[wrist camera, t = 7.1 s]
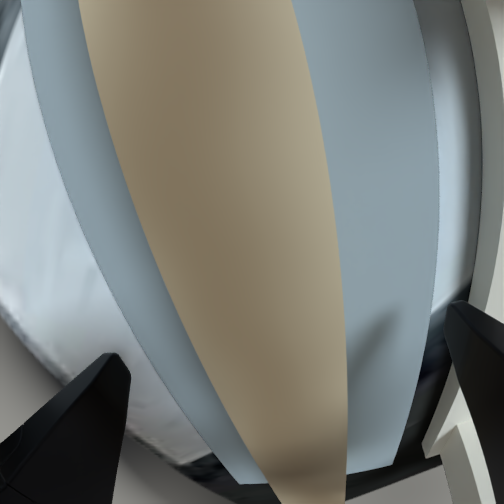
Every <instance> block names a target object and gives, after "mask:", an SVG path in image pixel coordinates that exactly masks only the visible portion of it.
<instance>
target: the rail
mask: <svg viewBox="0 0 504 504" xmlns="http://www.w3.org/2000/svg"><path fill="white" fill-rule="evenodd" d="M78 2H79V8H80V13H81V18H82V23H83V28H84V33H85V38H86V43H87V47H88V52H89V56H90V60H91V64H92V69H93V73H94V77H95V81H96V84H97V88H98V92H99V96H100V100H101V103H102V107H103V110H104V114H105V117H106V121H107V124H108V128H109V131H110V134H111V138H112V141H113V144H114V147H115V150H116V153H117V157H118V160H119V163H120V166H121V169H122V172H123V175H124V178H125V181H126V184H127V186H128V189H129V192H130V195H131V198H132V201H133V203H134V206H135V209H136V212H137V214H138V217H139V220H140V222H141V225H142V228H143V230H144V233H145V236H146V238H147V241H148V243H149V246H150V248H151V251H152V253H153V256H154V258H155V261H156V263H157V266H158V268H159V270H160V273H161V275H162V278H163V280H164V282H165V285H166V287H167V289H168V292H169V294H170V296H171V299H172V301H173V303H174V305H175V308H176V310H177V312H178V314H179V316H180V319H181V321H182V323H183V325H184V327H185V329H186V332H187V334H188V336H189V338H190V340H191V342H192V344H193V346H194V348H195V351H196V353H197V355H198V357H199V359H200V361H201V363H202V365H203V367H204V369H205V371H206V373H207V375H208V377H209V379H210V381H211V383H212V385H213V386H214V388H215V390H216V392H217V394H218V396H219V398H220V400H221V402H222V404H223V405H224V407H225V409H226V411H227V413H228V415H229V416H230V418H231V420H232V422H233V424H234V425H235V427H236V429H237V431H238V433H239V434H240V436H241V438H242V440H243V441H244V443H245V445H246V446H247V448H248V450H249V452H250V453H251V455H252V457H253V458H254V460H255V462H256V463H257V465H258V467H259V468H260V470H261V471H262V473H263V475H264V476H265V478H266V480H267V481H268V483H269V484H270V486H271V487H272V489H273V491H274V492H275V494H276V495H277V497H278V498H279V500H280V501H281V503H282V504H345V489H346V469H347V432H348V396H347V357H346V335H345V318H344V304H343V291H342V279H341V268H340V258H339V248H338V239H337V231H336V222H335V214H334V207H333V199H332V192H331V185H330V179H329V172H328V166H327V159H326V153H325V148H324V142H323V136H322V131H321V125H320V120H319V115H318V110H317V105H316V100H315V95H314V90H313V85H312V81H311V76H310V72H309V67H308V63H307V59H306V55H305V50H304V46H303V42H302V38H301V34H300V30H299V27H298V23H297V19H296V15H295V12H294V8H293V5H292V1H291V0H78Z"/></svg>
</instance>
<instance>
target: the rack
mask: <svg viewBox="0 0 504 504" xmlns="http://www.w3.org/2000/svg"><path fill="white" fill-rule="evenodd" d="M461 4H462V7H463V11H464V15H465V19H466V23H467V27H468V32H469V36H470V41H471V46H472V51H473V57H474V63H475V69H476V76H477V83H478V91H479V100H480V111H481V126H482V152H483V174H482V201H481V216H480V227H479V237H478V245H477V253H476V260H475V267H474V273H473V279H472V284H471V290H470V295H469V300H468V303H469V304H471V305H473V306H474V307H476V308H478V309H479V310H481V311H483V312H485V313H486V314H488V315H490V316H491V317H493V318H495V319H497V320H498V321H500V322H502V323H503V324H504V0H461ZM422 447H423V450H424V454H425V458H429V457H432V456H435V455H438V454H440V456H441V459H442V463H443V466H444V470H445V474H446V478H447V481H448V485H449V489H450V493H451V497H452V501H453V504H496V502H495V497H494V493H493V489H492V485H491V481H490V477H489V473H488V469H487V465H486V462H485V458H484V455H483V452H482V448H481V445H480V442H479V439H478V436H477V432H476V429H475V426H474V424H473V421H472V418H471V415H470V412H469V409H468V407H467V404H466V401H465V398H464V396H463V393H462V391H461V388H460V385H459V382H458V379H457V376H456V372H455V368H454V365H453V362H452V365H451V369H450V372H449V375H448V378H447V381H446V384H445V387H444V389H443V392H442V395H441V398H440V400H439V403H438V406H437V408H436V411H435V413H434V416H433V418H432V421H431V423H430V425H429V428H428V430H427V432H426V435H425V437H424V439H423V441H422Z"/></svg>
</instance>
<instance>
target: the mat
mask: <svg viewBox="0 0 504 504" xmlns="http://www.w3.org/2000/svg"><path fill="white" fill-rule="evenodd" d="M291 1H292V5H293V8H294V12H295V15H296V19H297V23H298V27H299V30H300V34H301V38H302V42H303V46H304V50H305V55H306V59H307V63H308V67H309V72H310V76H311V81H312V85H313V90H314V95H315V100H316V105H317V110H318V115H319V120H320V125H321V131H322V136H323V142H324V148H325V153H326V159H327V166H328V172H329V179H330V185H331V192H332V199H333V207H334V214H335V222H336V231H337V239H338V248H339V258H340V268H341V279H342V291H343V304H344V318H345V335H346V357H347V396H348V432H347V469H346V474H351V473H356V472H361V471H366V470H371V469H376V468H380V467H384V466H389V465H392V463H393V461H394V458H395V455H396V452H397V449H398V446H399V443H400V440H401V437H402V434H403V431H404V428H405V425H406V422H407V418H408V415H409V411H410V408H411V404H412V400H413V397H414V393H415V389H416V385H417V381H418V377H419V372H420V368H421V363H422V359H423V354H424V349H425V343H426V338H427V332H428V327H429V320H430V314H431V307H432V300H433V292H434V283H435V274H436V263H437V250H438V233H439V158H438V141H437V129H436V118H435V109H434V100H433V93H432V86H431V79H430V73H429V67H428V62H427V56H426V51H425V46H424V42H423V37H422V33H421V28H420V24H419V20H418V16H417V13H416V9H415V5H414V2H413V0H291ZM21 5H22V14H23V22H24V29H25V36H26V42H27V48H28V54H29V59H30V64H31V69H32V74H33V79H34V83H35V87H36V92H37V96H38V100H39V104H40V108H41V112H42V115H43V119H44V122H45V126H46V129H47V133H48V136H49V140H50V143H51V146H52V149H53V152H54V155H55V158H56V161H57V164H58V167H59V170H60V173H61V176H62V179H63V182H64V184H65V187H66V190H67V192H68V195H69V198H70V200H71V203H72V205H73V208H74V210H75V213H76V215H77V218H78V220H79V223H80V225H81V228H82V230H83V232H84V235H85V237H86V239H87V241H88V244H89V246H90V248H91V250H92V253H93V255H94V257H95V259H96V261H97V263H98V266H99V268H100V270H101V272H102V274H103V276H104V278H105V280H106V282H107V284H108V286H109V288H110V290H111V292H112V294H113V296H114V298H115V300H116V302H117V304H118V306H119V307H120V309H121V311H122V313H123V315H124V317H125V319H126V320H127V322H128V324H129V326H130V328H131V329H132V331H133V333H134V335H135V336H136V338H137V340H138V342H139V343H140V345H141V347H142V348H143V350H144V352H145V353H146V355H147V357H148V358H149V360H150V362H151V363H152V365H153V367H154V368H155V370H156V371H157V373H158V375H159V376H160V378H161V379H162V381H163V382H164V384H165V385H166V387H167V389H168V390H169V392H170V393H171V395H172V396H173V398H174V399H175V401H176V402H177V403H178V405H179V406H180V408H181V409H182V411H183V412H184V414H185V415H186V416H187V418H188V419H189V421H190V422H191V423H192V425H193V426H194V427H195V429H196V430H197V432H198V433H199V434H200V436H201V437H202V438H203V440H204V441H205V442H206V444H207V445H208V446H209V447H210V449H211V450H212V451H213V453H214V454H215V455H216V456H217V458H218V459H219V460H220V461H221V463H222V464H223V465H224V466H225V468H226V469H227V470H228V471H229V472H230V474H231V475H232V476H233V477H234V478H235V480H236V481H237V482H238V483H239V484H258V483H268V481H267V480H266V478H265V476H264V475H263V473H262V471H261V470H260V468H259V467H258V465H257V463H256V462H255V460H254V458H253V457H252V455H251V453H250V452H249V450H248V448H247V446H246V445H245V443H244V441H243V440H242V438H241V436H240V434H239V433H238V431H237V429H236V427H235V425H234V424H233V422H232V420H231V418H230V416H229V415H228V413H227V411H226V409H225V407H224V405H223V404H222V402H221V400H220V398H219V396H218V394H217V392H216V390H215V388H214V386H213V385H212V383H211V381H210V379H209V377H208V375H207V373H206V371H205V369H204V367H203V365H202V363H201V361H200V359H199V357H198V355H197V353H196V351H195V348H194V346H193V344H192V342H191V340H190V338H189V336H188V334H187V332H186V329H185V327H184V325H183V323H182V321H181V319H180V316H179V314H178V312H177V310H176V308H175V305H174V303H173V301H172V299H171V296H170V294H169V292H168V289H167V287H166V285H165V282H164V280H163V278H162V275H161V273H160V270H159V268H158V266H157V263H156V261H155V258H154V256H153V253H152V251H151V248H150V246H149V243H148V241H147V238H146V236H145V233H144V230H143V228H142V225H141V222H140V220H139V217H138V214H137V212H136V209H135V206H134V203H133V201H132V198H131V195H130V192H129V189H128V186H127V184H126V181H125V178H124V175H123V172H122V169H121V166H120V163H119V160H118V157H117V153H116V150H115V147H114V144H113V141H112V138H111V134H110V131H109V128H108V124H107V121H106V117H105V114H104V110H103V107H102V103H101V100H100V96H99V92H98V88H97V84H96V81H95V77H94V73H93V69H92V64H91V60H90V56H89V52H88V47H87V43H86V38H85V33H84V28H83V23H82V18H81V13H80V8H79V2H78V0H21Z"/></svg>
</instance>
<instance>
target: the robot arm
mask: <svg viewBox="0 0 504 504" xmlns="http://www.w3.org/2000/svg"><path fill="white" fill-rule="evenodd" d="M444 335H445V339H446V342H447V345H448V348H449V351H450V355H451V358H452V361H453V365H454V368H455V372H456V376H457V379H458V382H459V385H460V388H461V391H462V393H463V396H464V398H465V401H466V404H467V407H468V409H469V412H470V415H471V418H472V421H473V424H474V426H475V429H476V432H477V436H478V439H479V442H480V445H481V448H482V452H483V455H484V458H485V462H486V465H487V469H488V473H489V477H490V481H491V485H492V489H493V493H494V497H495V502H496V504H504V324H503V323H502V322H500V321H498V320H497V319H495V318H493V317H491V316H490V315H488V314H486V313H485V312H483V311H481V310H479V309H478V308H476V307H474V306H473V305H471V304H469V303H467V302H466V301H463V300H460V301H456V302H452V303H450V304H449V305H448V307H447V312H446V317H445V323H444ZM130 383H131V374H130V371H129V370H128V368H127V367H126V365H125V364H124V362H123V361H122V359H121V358H120V356H119V355H118V354H117V353H104V354H102V355H101V356H100V357H99V358H98V359H96V360H95V361H94V362H93V363H92V364H91V365H89V366H88V367H87V368H86V369H85V370H84V371H83V372H81V373H80V374H79V375H78V376H77V377H76V378H74V379H73V380H72V381H71V382H70V383H69V384H68V385H66V386H65V387H64V388H63V389H62V390H61V391H60V392H58V393H57V394H56V395H55V396H54V397H53V398H52V399H51V400H49V401H48V402H47V403H46V404H45V405H44V406H43V407H41V408H40V409H39V410H38V411H37V412H36V413H35V414H34V415H32V416H31V417H30V418H29V419H28V420H27V421H26V422H25V423H24V425H21V426H20V427H19V428H18V429H17V430H16V431H15V432H13V433H12V434H11V435H10V436H9V437H8V438H6V439H5V440H4V441H3V442H1V443H0V504H112V499H113V492H114V486H115V480H116V474H117V467H118V462H119V457H120V451H121V446H122V441H123V436H124V431H125V425H126V418H127V409H128V400H129V391H130Z"/></svg>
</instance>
